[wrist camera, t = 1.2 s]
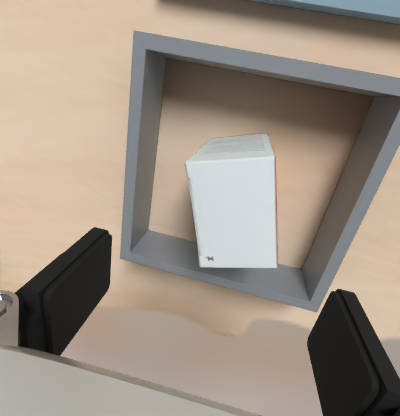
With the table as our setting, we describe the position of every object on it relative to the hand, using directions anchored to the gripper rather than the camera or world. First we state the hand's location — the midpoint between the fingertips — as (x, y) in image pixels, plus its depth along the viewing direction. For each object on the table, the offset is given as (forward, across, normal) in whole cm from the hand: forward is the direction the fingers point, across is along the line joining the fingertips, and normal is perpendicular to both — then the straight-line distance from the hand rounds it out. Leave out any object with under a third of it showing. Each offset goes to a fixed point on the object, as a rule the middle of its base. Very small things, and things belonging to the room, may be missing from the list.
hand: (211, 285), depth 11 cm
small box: (+17, -1, 0) cm, 17 cm away
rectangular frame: (+17, -1, 0) cm, 17 cm away
